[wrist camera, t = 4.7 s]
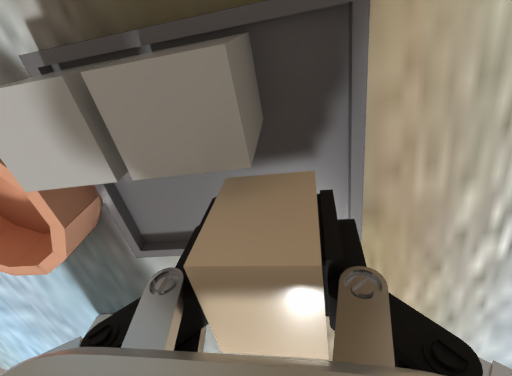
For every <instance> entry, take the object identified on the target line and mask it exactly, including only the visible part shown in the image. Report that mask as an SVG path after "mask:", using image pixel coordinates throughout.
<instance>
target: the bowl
mask: <svg viewBox="0 0 512 376" xmlns="http://www.w3.org/2000/svg"><path fill="white" fill-rule="evenodd" d="M102 206H103V205H102V198H101V196H100V195H99V193H98V191H97V190H96V188H95V186H94V185H87V186H78V187H68V188H59V189H50V190H41V191H31V192H25V191H24V189H23V188H22V187H21V185H20V184H19V183H18V181H17V180H16V179H15V177H14V176H13V175H12V173H11V172H10V171H9V169H8V168H7V167H6V165H5V164H4V163H3V161H2V160H1V159H0V271H1V272H4V273H8V274H11V275H15V276H16V275H41V274H49V273H50V272H51V271H52V270H53V269H55V268H56V267H57V266H58V265H59V264H61V263H62V262H63V261H64V260H65V259H67V257H68V256H69V255H70V254H71V253H72V252H73V251H74V250H75V249H76V248H77V246H78V245H79V244H80V243H81V242H82V241H83V240H84V239H85V238H86V236H87V235H88V234H89V233H90V232H91V231H92V230H93V229H94V228H95V226H96V225H97V222H98V220H99V218H100V216H101V213H102Z"/></svg>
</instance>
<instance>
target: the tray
mask: <svg viewBox="0 0 512 376" xmlns="http://www.w3.org/2000/svg"><path fill="white" fill-rule="evenodd" d="M369 15H370V0H267V1H262V2H258V3H253V4H249V5H244V6H240V7H235V8H231V9H226V10H222V11H217V12H213V13H208V14H204V15H199V16H195V17H190V18H186V19H181V20H177V21H172V22H168V23H163V24H159V25H154V26H150V27H145V28H141V29H136V30H132V31H127V32H123V33H118V34H114V35H109V36H105V37H100V38H96V39H91V40H87V41H82V42H78V43H73V44H69V45H64V46H60V47H55V48H51V49H46V50H42V51H37V52H33V53H28V54H24V55H19V58H20V59H21V61H22V63H23V65H24V66H25V68H26V70H27V71H28V73H29V75H30V77H35V76H39V75H43V74H47V73H51V72H55V71H59V70H63V69H68V68H73V67H78V66H83V65H88V64H92V63H97V62H102V61H107V60H112V59H117V58H122V57H127V56H132V55H137V54H139V55H141V54H145V53H148V52H151V51H156V50H161V49H166V48H171V47H176V46H181V45H186V44H191V43H196V42H201V41H206V40H210V39H215V38H220V37H225V36H230V35H235V34H240V33H245V32H249V37H250V43H251V49H252V55H253V61H254V67H255V73H256V79H257V85H258V91H259V97H260V103H261V109H262V115H263V122H262V126H261V130H260V134H259V138H258V142H257V146H256V150H255V154H254V158H253V162H252V166H251V168H244V169H234V170H225V171H216V172H207V173H197V174H188V175H179V176H170V177H161V178H151V179H142V180H133V179H132V177H131V175H130V173H129V171H128V172H127V173H126V174H125V175H124V176H123V177H122V178H121V179H120V180H119V181H118V182H114V183H105V184H96V185H94V186H95V188H96V190H97V191H98V193H99V195H100V196H101V198H102V200H103V202H104V203H105V205H106V207H107V208H108V210H109V212H110V214H111V215H112V217H113V219H114V220H115V222H116V224H117V226H118V227H119V229H120V231H121V232H122V234H123V236H124V237H125V239H126V241H127V243H128V244H129V246H130V248H131V249H132V251H133V253H134V255H135V256H136V258H142V257H162V256H181V255H182V253H183V251H184V249H185V247H186V246H187V244H188V242H189V240H190V238H191V236H192V234H193V232H194V230H195V228H196V227H197V226H199V225H200V223H201V221H202V219H203V217H204V215H205V213H206V211H207V209H208V207H209V205H210V203H211V201H212V199H213V198H214V197H217V196H218V193H219V191H220V189H221V187H222V185H223V183H224V181H225V179H226V178H230V177H243V176H255V175H267V174H279V173H291V172H303V171H315V177H316V191H317V194H320V190H331V189H333V194H334V200H335V206H336V212H337V218H338V219H355V222H356V226H357V230H358V234H359V238H360V242H361V233H362V205H363V178H364V151H365V124H366V97H367V70H368V42H369Z"/></svg>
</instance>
